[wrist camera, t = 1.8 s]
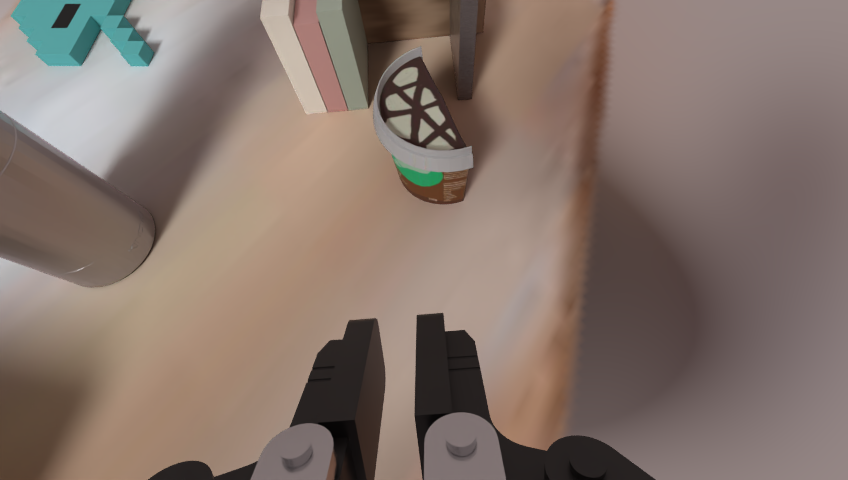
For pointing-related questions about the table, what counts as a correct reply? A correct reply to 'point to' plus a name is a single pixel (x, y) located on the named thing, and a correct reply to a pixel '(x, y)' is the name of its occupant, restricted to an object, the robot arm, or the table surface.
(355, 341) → the robot arm
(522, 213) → the table surface
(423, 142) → the food container
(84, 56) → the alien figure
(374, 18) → the shelf wall
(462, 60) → the bookend
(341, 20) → the row of books
